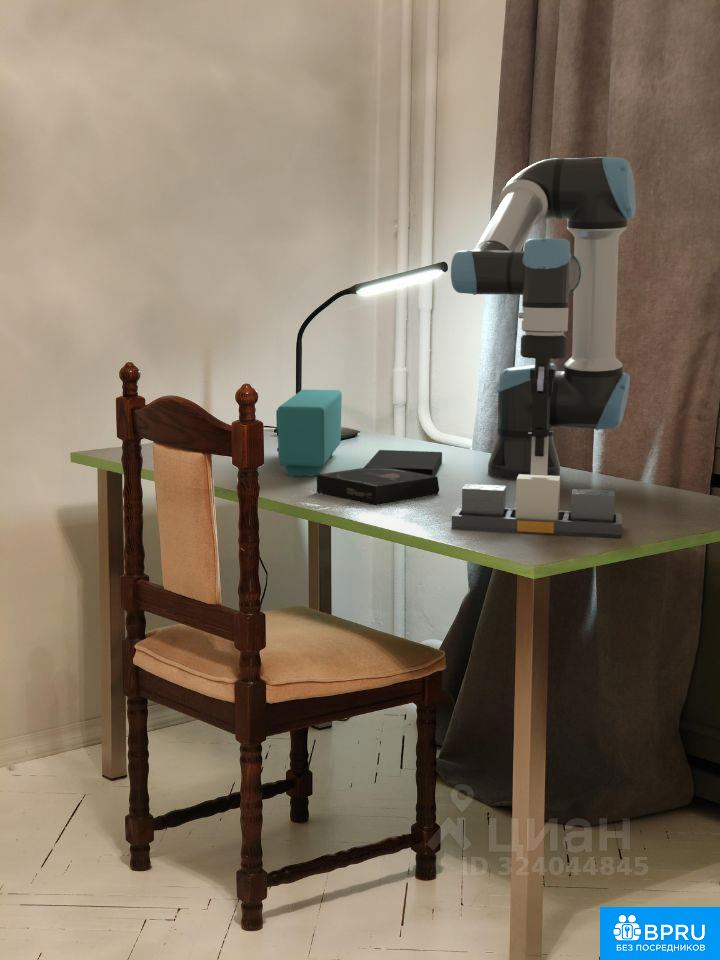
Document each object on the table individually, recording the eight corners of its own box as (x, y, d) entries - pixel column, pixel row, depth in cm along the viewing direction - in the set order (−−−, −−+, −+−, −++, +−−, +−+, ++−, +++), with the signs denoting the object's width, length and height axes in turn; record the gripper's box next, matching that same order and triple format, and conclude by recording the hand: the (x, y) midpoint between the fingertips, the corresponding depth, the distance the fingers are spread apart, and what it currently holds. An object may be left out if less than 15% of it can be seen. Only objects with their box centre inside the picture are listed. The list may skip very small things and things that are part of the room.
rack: (458, 518, 215) (458, 481, 214) (621, 526, 209) (623, 488, 208) (451, 529, 206) (452, 490, 205) (621, 538, 200) (623, 499, 199)
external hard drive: (441, 465, 273) (442, 452, 272) (432, 483, 250) (432, 469, 250) (378, 463, 275) (378, 449, 274) (363, 481, 252) (363, 466, 252)
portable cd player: (439, 496, 237) (439, 476, 236) (375, 507, 225) (376, 486, 225) (379, 484, 249) (380, 465, 248) (316, 495, 237) (316, 474, 237)
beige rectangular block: (517, 520, 210) (518, 474, 209) (558, 522, 209) (560, 476, 208) (515, 525, 206) (516, 478, 205) (557, 527, 205) (558, 480, 203)
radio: (297, 453, 286) (297, 389, 283) (341, 454, 285) (342, 389, 282) (273, 478, 252) (273, 406, 250) (323, 479, 251) (323, 407, 249)
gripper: (523, 330, 209) (519, 467, 213) (518, 335, 196) (513, 480, 200) (568, 331, 207) (563, 469, 212) (565, 336, 195) (559, 482, 199)
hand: (538, 474), depth 206 cm, fingers closed
